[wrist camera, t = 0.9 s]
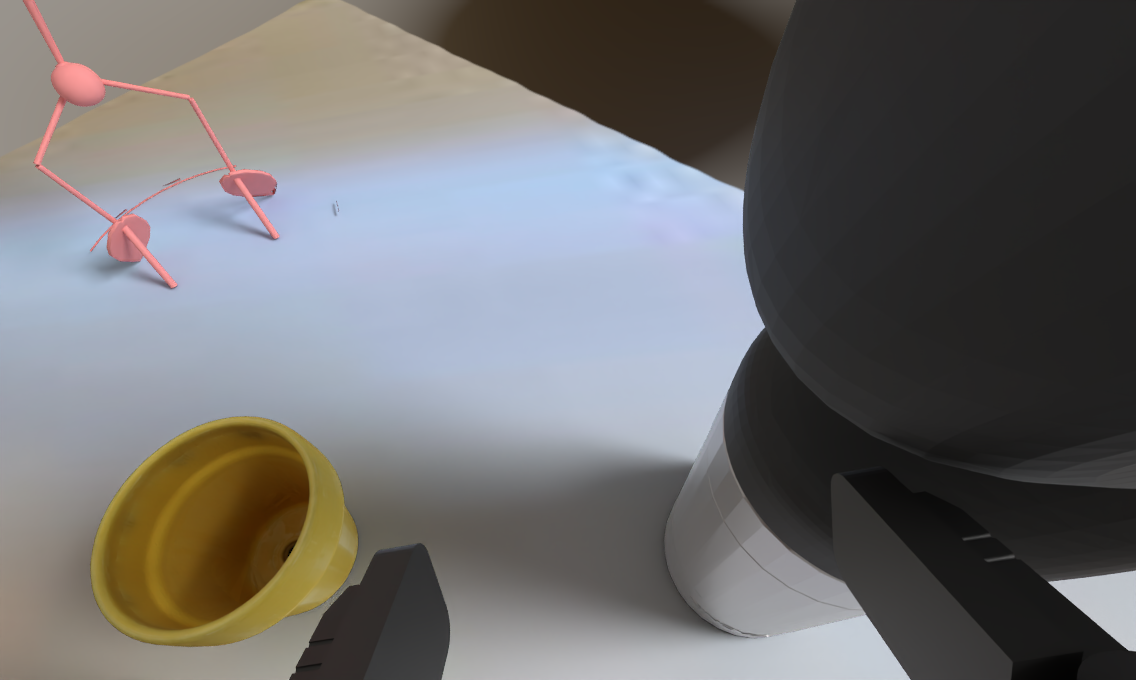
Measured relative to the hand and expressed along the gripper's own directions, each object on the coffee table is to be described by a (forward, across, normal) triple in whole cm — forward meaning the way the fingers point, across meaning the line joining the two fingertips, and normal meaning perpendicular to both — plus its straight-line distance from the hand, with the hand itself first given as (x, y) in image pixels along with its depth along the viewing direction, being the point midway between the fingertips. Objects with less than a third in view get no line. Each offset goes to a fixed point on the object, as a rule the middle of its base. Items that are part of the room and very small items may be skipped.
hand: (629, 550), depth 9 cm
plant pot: (+19, +20, +13) cm, 31 cm away
